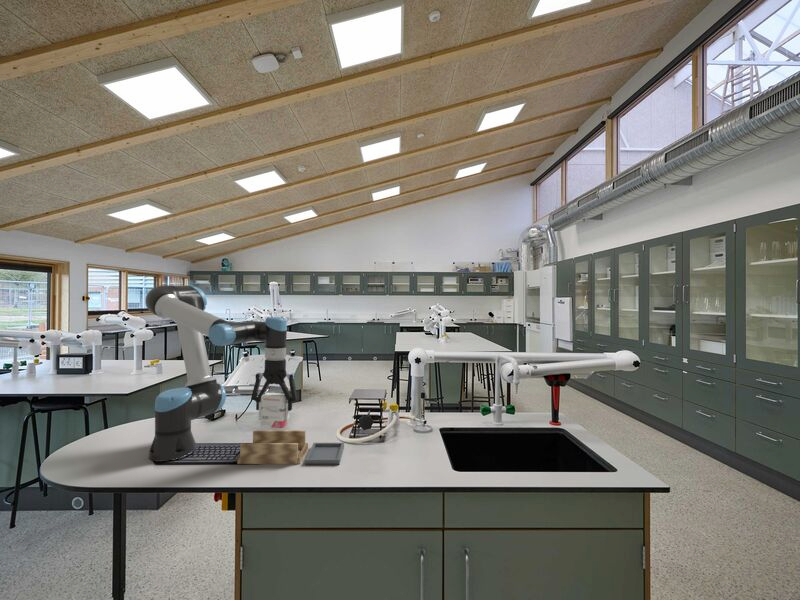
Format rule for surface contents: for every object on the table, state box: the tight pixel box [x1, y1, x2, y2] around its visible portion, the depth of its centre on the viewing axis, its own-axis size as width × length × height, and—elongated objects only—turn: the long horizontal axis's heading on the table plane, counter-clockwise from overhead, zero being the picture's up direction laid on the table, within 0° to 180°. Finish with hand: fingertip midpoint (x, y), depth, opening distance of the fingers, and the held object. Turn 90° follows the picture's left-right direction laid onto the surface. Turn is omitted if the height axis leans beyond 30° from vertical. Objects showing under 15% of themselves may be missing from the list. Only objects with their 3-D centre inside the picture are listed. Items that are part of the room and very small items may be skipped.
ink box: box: [260, 392, 288, 429], centre depth 144 cm, size 9×5×12 cm, turn 82°
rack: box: [236, 429, 309, 465], centre depth 144 cm, size 22×14×7 cm, turn 92°
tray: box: [304, 442, 345, 466], centre depth 144 cm, size 12×16×2 cm
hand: (274, 418), depth 144 cm, fingers closed on ink box, 9 cm apart
